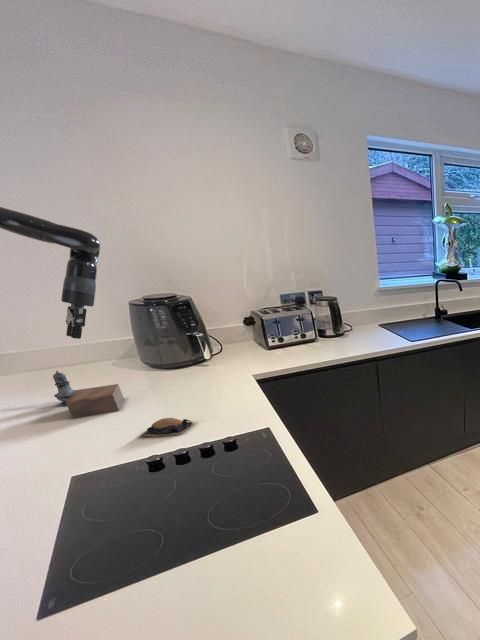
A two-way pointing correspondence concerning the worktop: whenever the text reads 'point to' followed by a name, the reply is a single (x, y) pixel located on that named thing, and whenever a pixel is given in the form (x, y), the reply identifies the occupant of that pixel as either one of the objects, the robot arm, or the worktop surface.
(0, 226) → the robot arm
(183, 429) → the turtle figurine
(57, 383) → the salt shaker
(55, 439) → the worktop surface
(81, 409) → the brown rectangular block
